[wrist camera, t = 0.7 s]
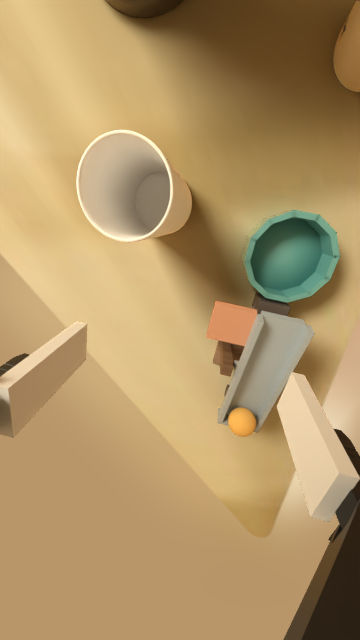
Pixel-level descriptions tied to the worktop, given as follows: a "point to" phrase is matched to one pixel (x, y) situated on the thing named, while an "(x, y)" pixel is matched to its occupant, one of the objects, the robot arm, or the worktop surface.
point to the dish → (290, 255)
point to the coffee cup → (349, 51)
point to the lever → (258, 356)
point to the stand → (233, 351)
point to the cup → (131, 188)
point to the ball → (242, 422)
